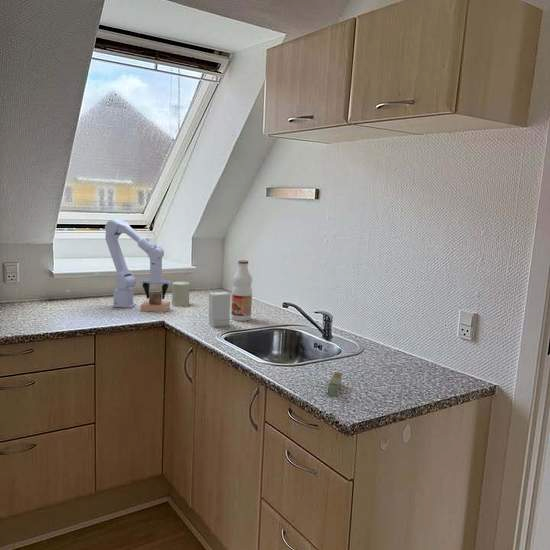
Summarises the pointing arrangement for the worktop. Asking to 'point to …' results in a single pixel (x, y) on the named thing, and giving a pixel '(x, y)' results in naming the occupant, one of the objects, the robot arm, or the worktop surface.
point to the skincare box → (219, 309)
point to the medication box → (334, 384)
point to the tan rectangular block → (155, 306)
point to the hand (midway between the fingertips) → (155, 298)
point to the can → (180, 293)
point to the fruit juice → (241, 293)
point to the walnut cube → (155, 298)
